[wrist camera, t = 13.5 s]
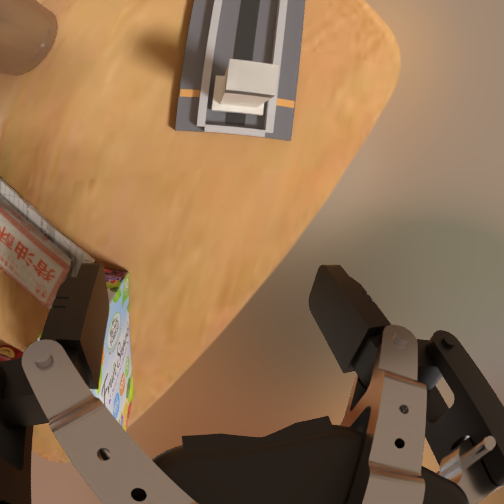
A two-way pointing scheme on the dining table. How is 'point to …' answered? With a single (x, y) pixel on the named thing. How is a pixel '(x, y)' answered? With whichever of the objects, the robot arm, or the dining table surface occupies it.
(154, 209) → the dining table surface
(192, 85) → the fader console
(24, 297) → the dining table surface
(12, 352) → the canned food
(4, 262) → the packaged product
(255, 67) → the fader tab
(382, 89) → the dining table surface
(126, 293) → the snack box
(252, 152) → the dining table surface
